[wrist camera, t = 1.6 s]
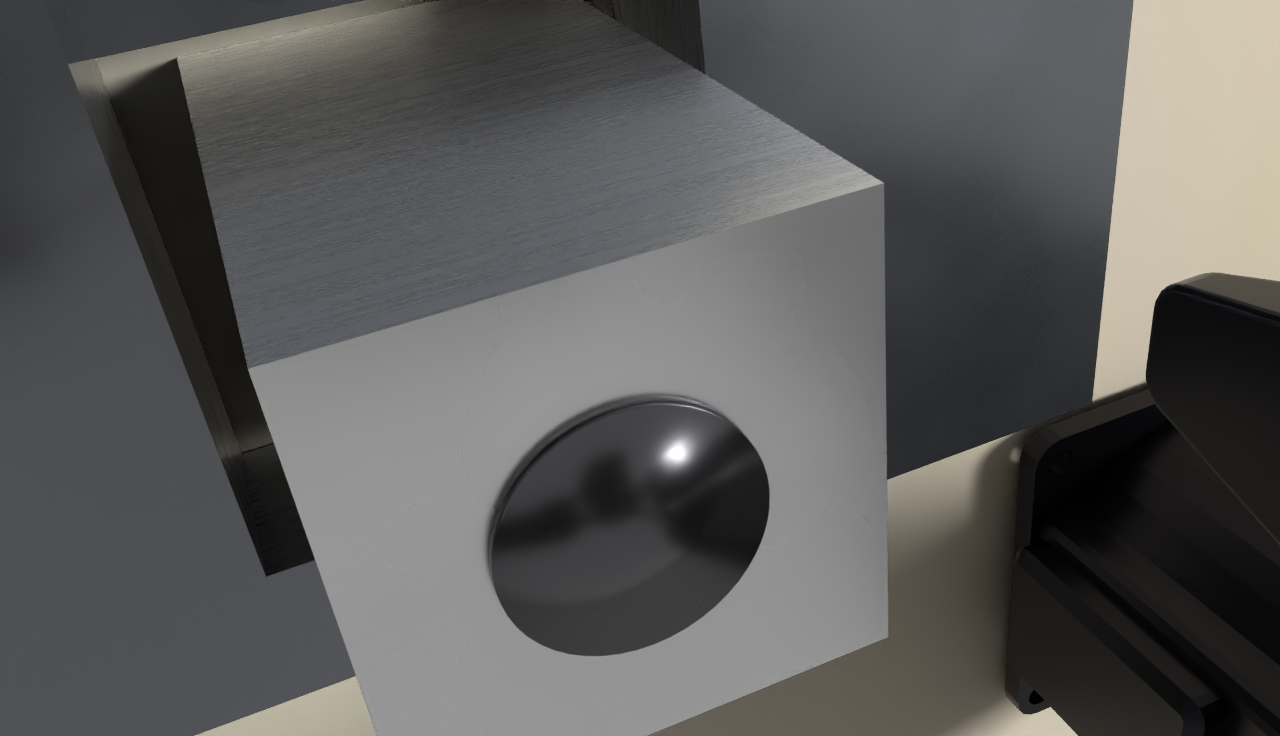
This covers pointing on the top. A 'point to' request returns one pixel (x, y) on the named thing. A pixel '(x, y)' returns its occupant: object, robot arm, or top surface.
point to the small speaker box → (554, 362)
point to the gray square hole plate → (255, 481)
